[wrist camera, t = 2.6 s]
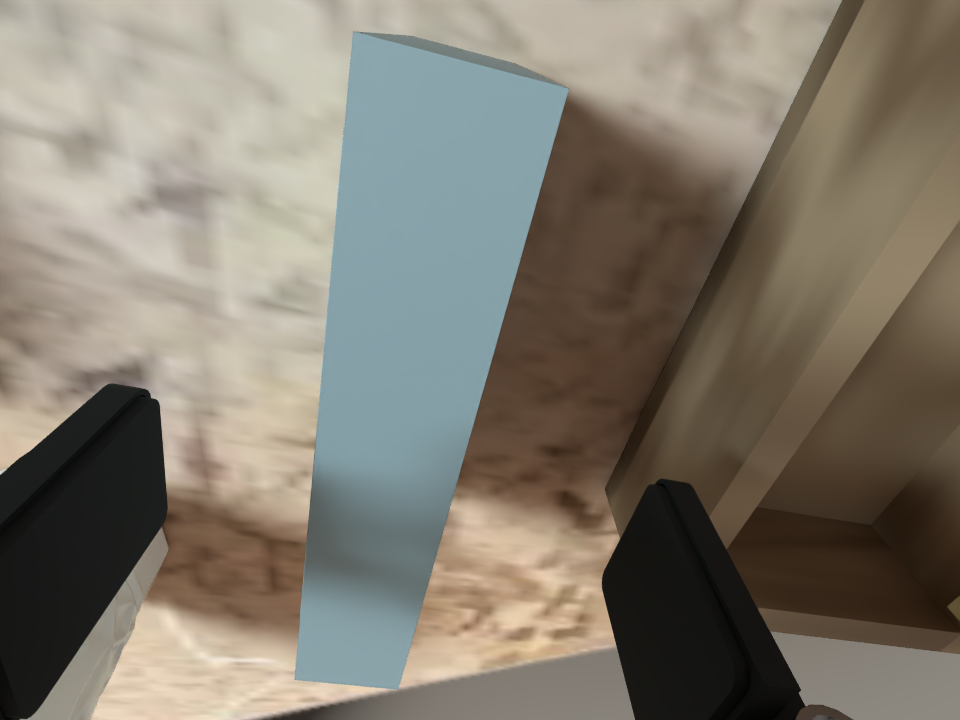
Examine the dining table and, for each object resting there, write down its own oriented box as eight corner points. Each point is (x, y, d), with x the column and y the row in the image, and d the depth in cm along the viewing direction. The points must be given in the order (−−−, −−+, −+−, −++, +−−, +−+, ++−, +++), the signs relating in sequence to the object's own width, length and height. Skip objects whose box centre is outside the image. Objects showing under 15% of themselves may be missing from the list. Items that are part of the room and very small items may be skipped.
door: (406, 34, 12) (338, 27, 6) (515, 63, 12) (569, 89, 6) (349, 457, 18) (287, 679, 12) (420, 468, 19) (398, 689, 12)
